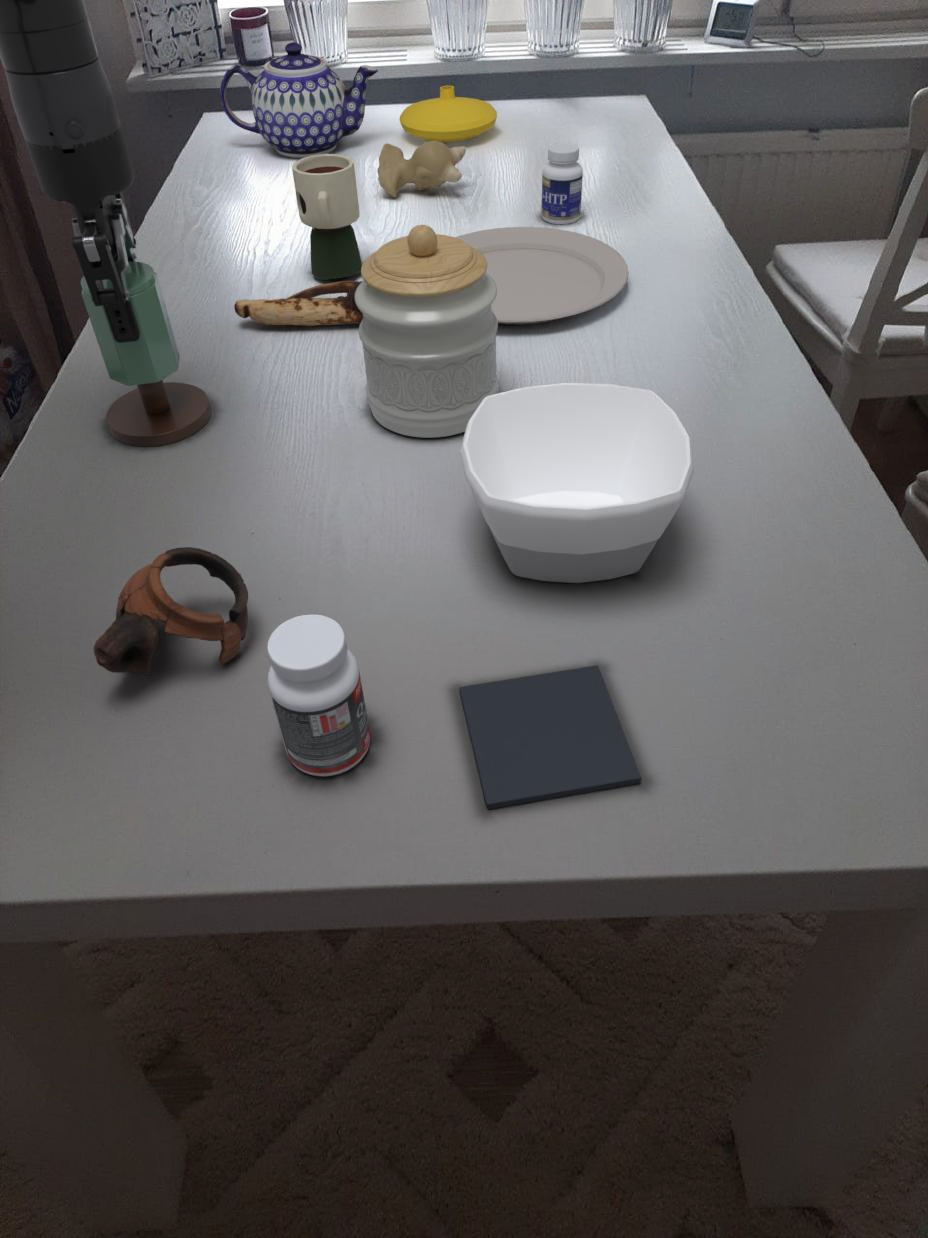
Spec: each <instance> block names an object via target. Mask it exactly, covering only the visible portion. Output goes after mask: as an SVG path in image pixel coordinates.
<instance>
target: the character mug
mask: <svg viewBox="0 0 928 1238" xmlns="http://www.w3.org/2000/svg"><path fill="white" fill-rule="evenodd" d="M354 162H355V161H354V160H353V158H351V157H350V156H347V155H344V154H339V153H327V154H320V155H313V156H309V157H305V158H299V159H298V160H296V161H294V162H293V163H292V164H291V170H292V177H293V183H294V184H293V185H294V189H295V198H296V204H297V209H298V216H299V219H300V222H301V223H302V224H303V225H305V226H307V227H310V228H311V231H310V236H309V238H310V269H311V270H310V271H311V274H312V276H313V277H314V278H315V279H319V280H323V281H326V280H336V281H337V280H339V279H341V278H347V277H352V276H354V275H358V274H359V273H361V267H362V264H363V261H362V258H361V257H362V256H361V253H360V248H359V245H358V240H357V237H356V233H355V229H354V228H353V226H352V224H354V223H355V222H357V221H358V219H359V218H360V204H359V196H358V188H357V178H356V168H355V163H354Z"/></svg>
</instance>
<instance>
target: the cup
mask: <svg viewBox="0 0 928 1238" xmlns="http://www.w3.org/2000/svg"><path fill="white" fill-rule="evenodd" d="M128 263H129V270H128V272H126V273H125V278H126V283H127V287H128V290H129V292H130V296H129V298H130V301H131V305H132V308H133V311H134V315H135V318H136V321H137V324H138V328H139V331H140V336H139V339H138V340H137V341H132V342H124V343H119V342H116V341H115V339H114V337H113V334H112V331H111V328H110V324H109V321H108V318H107V315H106V312H105V309H104V306H103V305H102V306H95V304H94V302H93V301H92V296H91V293H90V291H89V288H88V285H87V282H86V279H85V277H84V275H83V276H82V277H81V279H80V286H81V297H82V300H83V303H84V306H85V309H86V312H87V315H88V318H89V321H90V324H91V326H92V329H93V330H92V331H93V332H94V335H95V338H96V341H97V344H98V348H99V350H100V353H101V356H102V359H103V362H104V365H105V368H106V371H107V374H108V377H109V379H110V380H113V381H115V382H118V383H120V384H123V385H125V386H128V387H131V386H137V385H140V384H149V383H156V382H159V381H160V380H162V381H163V380H164V379H166V378H167V377H169V376H170V375H172V374H174V373H176V372H178V371H179V368H180V367H179V366H180V358H181V357H180V353H179V350H178V346H177V342H176V338H175V335H174V331H173V328H172V325H171V321H170V316H169V313H168V310H167V306H166V303H165V298H164V295H163V291H162V288H161V285H160V281H159V276H158V273H157V272H156V271H155V270H154V268H153V267H152V265H150V264H148V263H146V262H142V261H136V262H135V261H128ZM102 281H103V286H104V289H106V288H113V285H112V282H111V281H110V280H108V279H107V280H102Z"/></svg>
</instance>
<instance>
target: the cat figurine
mask: <svg viewBox="0 0 928 1238" xmlns="http://www.w3.org/2000/svg"><path fill="white" fill-rule="evenodd" d="M466 151H467V149H466V147H465V146H464V145H462V146H453V147H451V148H450V147H448V146H447V145H446V143H442V142H439V141H426V142H424V143H422V144H421V145H419V146H418V147H417V148H415V150H414V152H413V153H412V155H411V157H410V158H409V159H406V158H405V156H404V152H403V150H402V149H401V148H400V147H398V146H395V145H393V144H391V143H384V144H383V146H382V149H381V151H380V154H379V156H378V167H377V169H376V170H377V175H378V177H377V181H378V184H379V186H380V187H381V188H383V190H385V191H386V192H387V193H388V194H389V195H391V196H392V197H393V198H394V199H396V198H397V196H398V191H399V190H400V189H402V188H403V187H405V186H406V185H408V184H411V185H412V184H413V185H414V186H415V187H416V188H417V189H418V190H419V191H424V190H428V191H430V190H434V189H436V188H438V187H441V186H442V185H444V184H445V183H447V182H448V183H457V182H459V181H460V180H462V177H463V176H462V175H463V174H462V172H461V171H460V170H459V168H457V167H456V165H457V164H459V163H460V162H461V161H462V160H463V158H464V157H465V154H466Z"/></svg>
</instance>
